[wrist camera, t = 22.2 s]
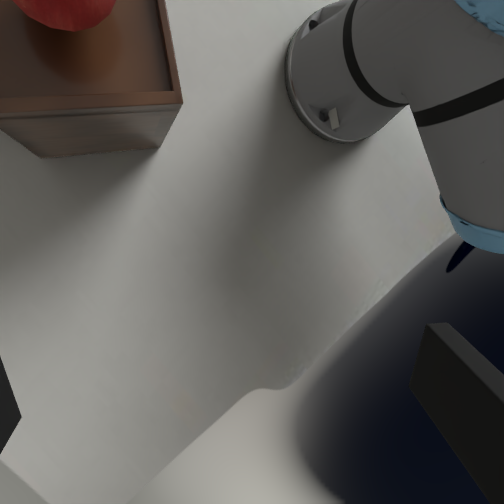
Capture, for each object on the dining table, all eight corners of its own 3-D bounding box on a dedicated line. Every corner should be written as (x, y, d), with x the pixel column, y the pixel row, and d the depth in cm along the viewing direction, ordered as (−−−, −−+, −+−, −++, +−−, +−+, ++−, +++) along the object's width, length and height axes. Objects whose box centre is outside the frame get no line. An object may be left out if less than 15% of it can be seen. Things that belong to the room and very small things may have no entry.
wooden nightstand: (136, 22, 33) (146, -112, 20) (160, 147, 35) (183, 103, 22) (6, 19, 30) (-91, -148, 16) (40, 158, 32) (-22, 114, 18)
